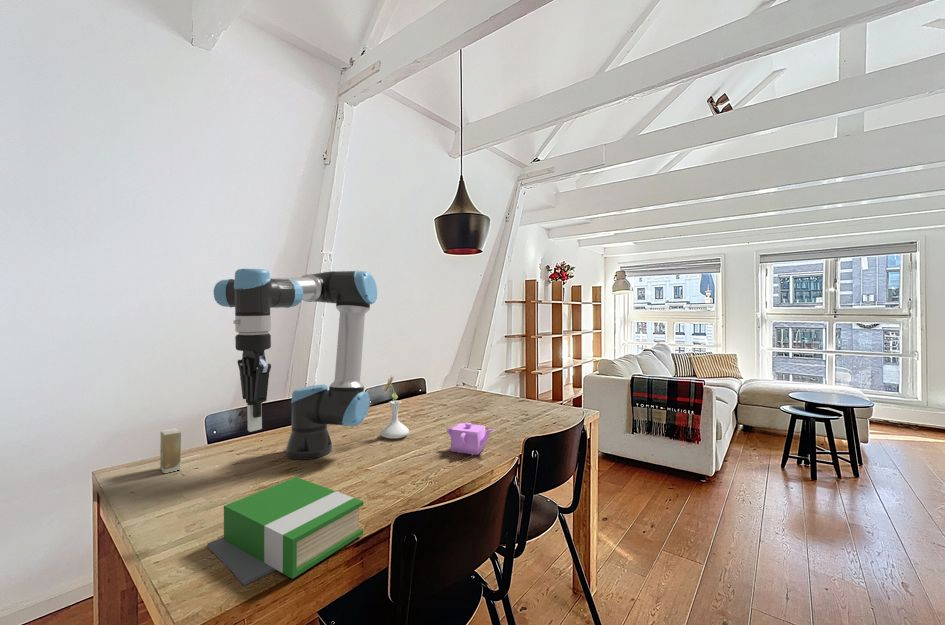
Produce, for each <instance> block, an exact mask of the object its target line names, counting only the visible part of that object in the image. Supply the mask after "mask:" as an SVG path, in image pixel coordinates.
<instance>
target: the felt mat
mask: <svg viewBox="0 0 945 625" xmlns="http://www.w3.org/2000/svg"><path fill="white" fill-rule="evenodd" d="M206 545H207V548H208V549H209V550H210V551H211V552H213V554H214V555H215V556H216V557H217V558H218V559H219V560H220V561H221V562H222V563H223V564H224V566H226V568H227V569H228V568H229V569H230V570H231V571H232V572H233V573H234V574H235V575H234V574H233V573H232V572H231V571H230V570H229V569H228V570H229V571H230V572H231V573H232V574H233V575H234V576H235V578H237V579H238V580H239V582H240V583H242V585H244V586H247V585H249V584H251V583H253V582H255V581H257V580H258V578H259V579H261V578H263V577H265V576H266V575H268V574H271V573H273V572H275V571H277V570H276V569H274V568H273V567H271V566H269V565H267V564H266V563H264V562H262V561H260V560H259V559H257V558H255V557H253V556H252V555H250V554H248V553H246V552H245V551H243V550H241V549H239V548H238V547H236V546H234V545H232V544H231V543H229V542H227V541H225V540H224V536H222V537H220V538H217V539H216V540H213V541H210V542H207V544H206ZM250 582H251V583H250ZM248 583H249V584H248ZM246 584H247V585H246Z"/></svg>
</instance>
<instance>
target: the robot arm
mask: <svg viewBox="0 0 945 625" xmlns="http://www.w3.org/2000/svg"><path fill="white" fill-rule="evenodd" d="M270 274H271V273H270V271H269V270H267V269H264V268H263V269H261V268H238V269H237V270H235V272H234V279H233V278H228V279H221V280H219V281H218V282H216V283H215V285H214V287H213V290H212V291H213V299H214V301H215V302H216V303H217V305H219V306H220V307H226V308H234V315H235V316H234V317H235V318H234V320H233V322H232V323H233V324H234V326H235V332H236V333H238V334H236V335H235V337H234V339H235V350H236V351H239V352H242V356H241V359H237V362H236V363H237V366H238V369H239V377H240V378H239V379H240V385H241V386H240V387H241V395H242V396H241V397H242V400H245V402H246V406H247V408H246V409H247V411H246V412H247V415H246V416H247V420H246V421H247V431H248V432H250V433H251V432H256V431H258V430H259V431H261V430H263V417H262V415H263V414H262V413H263V412H262V410H263V409H262V407H263V406H262V404H263V403H265V402H267V397H268V389H269V379H270V378H269V377H270V372H271V369H272V365H271V363H267V362H266V359H267V358H266V354H265V350H269V349H271V346H272V340H271V339H272V337H271V336H272V335H271V334H270V333H269V332H271V331H272V322H271V321H272V320H271V319H272V316H271V309H272V308H273V309H276V308H277V309H279V308H285V309H286V308H287V309H288V308H294V307H297V306H298V305H300V304H301V303H302V301H304V302H308V303H313V302H315V303H316V302H317V303H318V302H319V303H324V304H325V303H327V304H335V308H336V309H337V310H338V311H339V319H338V320H339V321H338V332H337V345H336V357H335V368H334V369H335V370H334V380H333V382H331V383H330V384H329V387H328V385H326V384H315V385H314V384H313V385H307V386H304V387H299V388H297V389H295V390H293V391H292V393H291V402H290V403H291V433H290V434H289V435H290V436H289V438H288V442H287V443H286V448H285V455H286V457H287V458H289V459H293V460H312V459H317V458H321V457H323V456H326V455H328V454H330V453H331V452H332V451H333V442H332V439H331V436H330V433H329V431H328V425H331V426H332V425H334V426H343V427H355V426H356V427H357V426H359V425H360V424H362V423H363V421H364V420H365V419H366V417H367V415H368V412H369V409H370V402H371V399H370V395H369V393H368V392H367V391H365V385H364V384H363V383H362V382H361V372H362V362H363V361H362V358H363V345H364V343H363V342H364V332H365V319H366V318H365V316H366V314H367V313H368V312H369V311H370V310H371V305H373V304H374V303H376V300H377V298H378V286H377V284H376V280H375V279H374V276H373V275H372V273H370V272H368V271H362V270H347V271H346V270H342V271H332V270H331V271H330V270H329V271H326V272H319V273H318V272H317V273H310V274H303V275H302V276H300V277H275V278H274V277H272V278H271V275H270ZM328 388H329V389H328Z"/></svg>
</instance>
